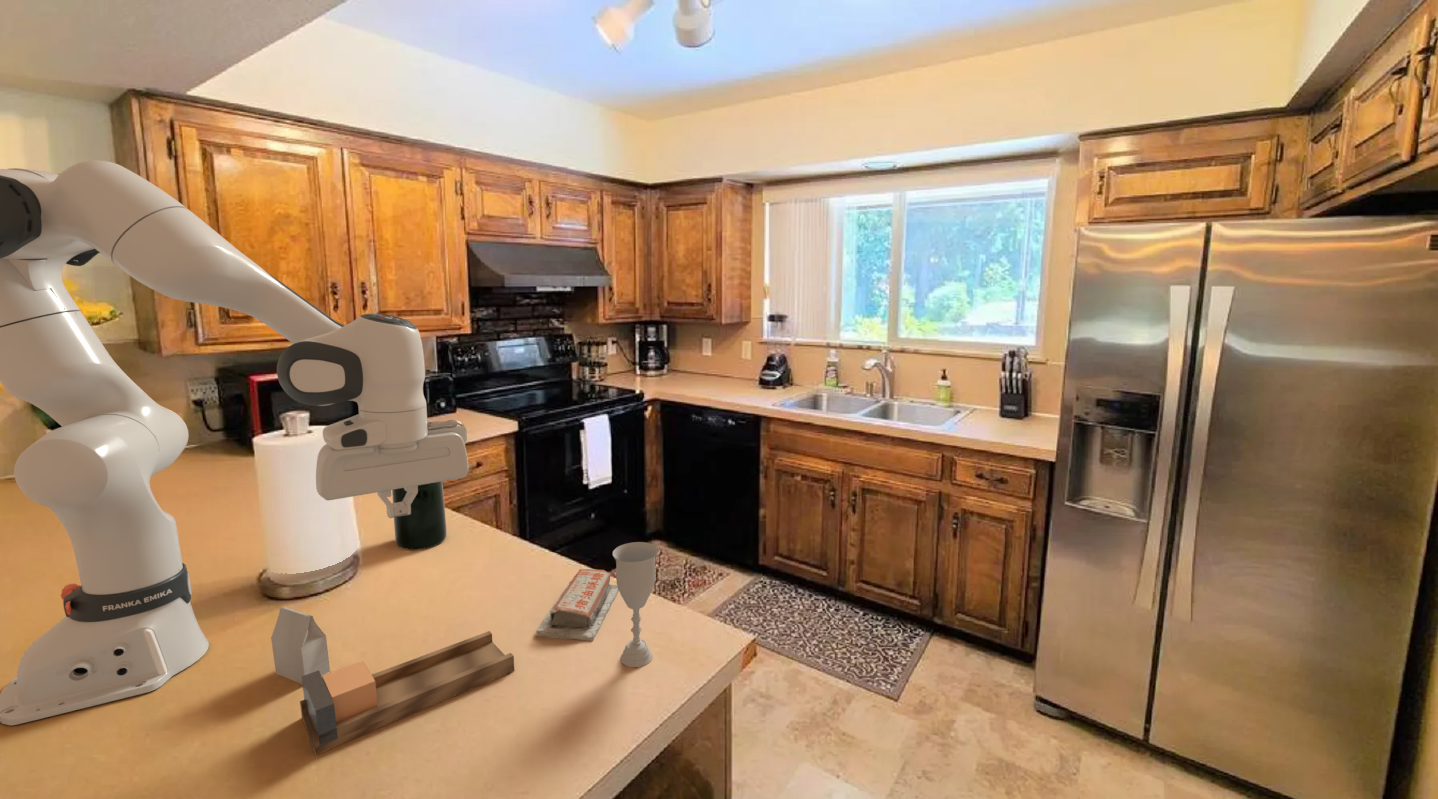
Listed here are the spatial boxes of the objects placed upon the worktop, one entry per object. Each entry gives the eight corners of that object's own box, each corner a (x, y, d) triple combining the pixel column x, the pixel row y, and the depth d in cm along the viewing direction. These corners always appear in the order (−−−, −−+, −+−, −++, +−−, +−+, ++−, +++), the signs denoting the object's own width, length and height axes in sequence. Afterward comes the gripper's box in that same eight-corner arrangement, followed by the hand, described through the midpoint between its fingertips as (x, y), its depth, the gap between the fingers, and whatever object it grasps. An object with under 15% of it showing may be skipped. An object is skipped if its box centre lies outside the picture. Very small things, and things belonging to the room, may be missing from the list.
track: (315, 755, 78) (313, 737, 77) (301, 717, 84) (299, 701, 84) (514, 670, 95) (513, 655, 95) (490, 644, 101) (489, 630, 101)
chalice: (638, 676, 94) (637, 566, 91) (604, 661, 98) (602, 554, 94) (667, 653, 100) (667, 548, 97) (634, 639, 104) (633, 538, 100)
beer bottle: (422, 554, 134) (410, 404, 128) (384, 547, 137) (371, 400, 131) (457, 536, 144) (448, 396, 138) (421, 529, 147) (410, 392, 141)
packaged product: (569, 564, 121) (620, 567, 120) (570, 587, 122) (620, 590, 121) (534, 613, 103) (593, 616, 102) (535, 639, 104) (593, 643, 103)
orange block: (335, 731, 80) (332, 697, 79) (325, 708, 85) (321, 675, 84) (378, 714, 84) (375, 681, 83) (366, 692, 88) (363, 660, 87)
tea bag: (305, 685, 91) (298, 623, 89) (275, 673, 93) (267, 612, 92) (330, 671, 94) (323, 610, 92) (300, 660, 97) (293, 601, 95)
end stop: (319, 746, 78) (315, 710, 77) (305, 709, 84) (301, 676, 83) (337, 738, 79) (334, 703, 78) (322, 703, 86) (318, 670, 85)
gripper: (459, 414, 100) (461, 496, 103) (309, 430, 87) (316, 523, 89) (473, 422, 96) (476, 507, 98) (318, 439, 82) (325, 538, 85)
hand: (399, 515), depth 94 cm, fingers closed
